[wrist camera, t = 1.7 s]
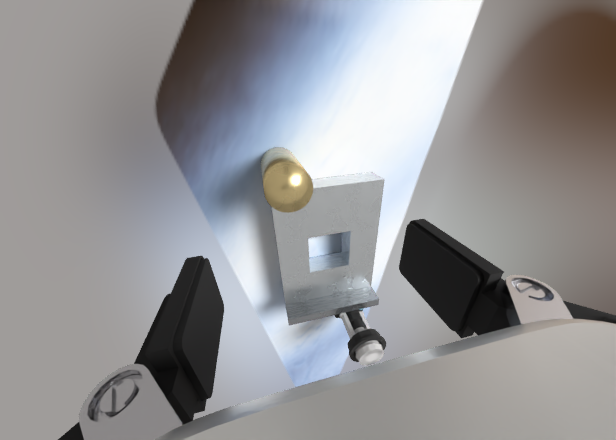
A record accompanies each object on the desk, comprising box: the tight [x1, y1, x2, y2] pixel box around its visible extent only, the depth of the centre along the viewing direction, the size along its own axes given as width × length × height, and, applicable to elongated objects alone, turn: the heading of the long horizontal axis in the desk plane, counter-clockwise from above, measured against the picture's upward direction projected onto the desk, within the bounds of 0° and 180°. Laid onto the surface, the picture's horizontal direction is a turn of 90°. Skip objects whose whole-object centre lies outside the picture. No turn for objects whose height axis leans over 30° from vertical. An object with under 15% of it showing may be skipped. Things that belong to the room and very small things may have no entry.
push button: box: [335, 308, 386, 365], centre depth 33 cm, size 7×5×10 cm
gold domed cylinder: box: [261, 147, 313, 213], centre depth 21 cm, size 4×4×8 cm
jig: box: [271, 172, 384, 325], centre depth 28 cm, size 18×13×6 cm
